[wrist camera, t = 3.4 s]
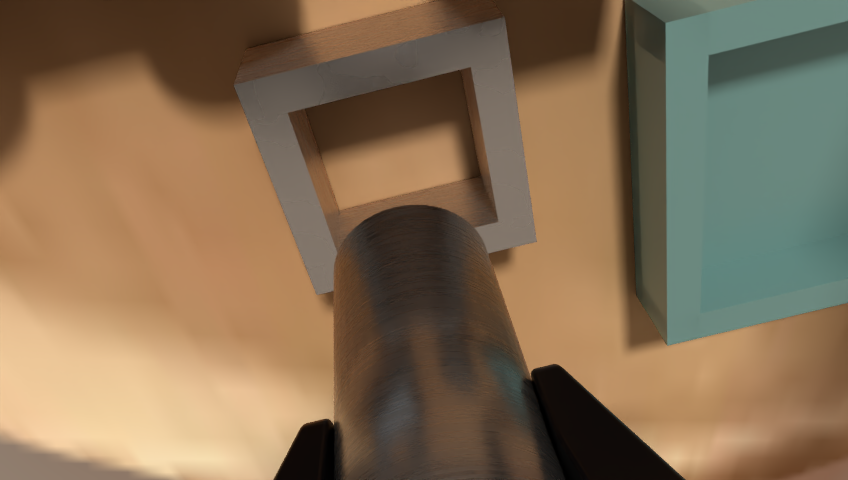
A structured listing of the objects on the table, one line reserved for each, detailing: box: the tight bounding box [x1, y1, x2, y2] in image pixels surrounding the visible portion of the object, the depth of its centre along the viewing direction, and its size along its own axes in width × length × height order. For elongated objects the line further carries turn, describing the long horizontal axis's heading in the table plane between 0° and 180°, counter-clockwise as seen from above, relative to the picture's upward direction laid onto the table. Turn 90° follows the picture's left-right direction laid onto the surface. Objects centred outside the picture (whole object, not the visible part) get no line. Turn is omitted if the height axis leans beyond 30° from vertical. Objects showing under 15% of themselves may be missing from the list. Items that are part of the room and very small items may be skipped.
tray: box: [625, 0, 848, 346], centre depth 18 cm, size 11×10×2 cm
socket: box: [234, 0, 537, 295], centre depth 17 cm, size 6×6×2 cm
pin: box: [334, 205, 566, 480], centre depth 9 cm, size 3×3×9 cm
